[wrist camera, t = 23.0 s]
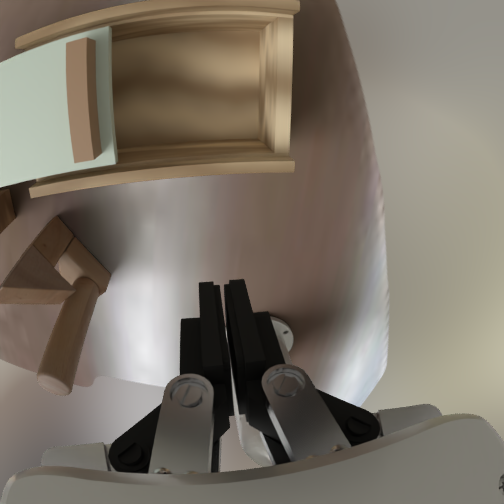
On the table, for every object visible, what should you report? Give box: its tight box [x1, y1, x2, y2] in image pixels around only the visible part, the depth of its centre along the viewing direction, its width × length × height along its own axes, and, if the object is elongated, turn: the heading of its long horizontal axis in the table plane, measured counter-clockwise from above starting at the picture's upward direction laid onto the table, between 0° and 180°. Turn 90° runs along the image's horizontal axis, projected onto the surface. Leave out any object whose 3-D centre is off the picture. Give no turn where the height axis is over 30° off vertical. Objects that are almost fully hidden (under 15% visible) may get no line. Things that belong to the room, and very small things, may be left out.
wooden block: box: [0, 216, 111, 396], centre depth 25 cm, size 4×11×18 cm, turn 30°
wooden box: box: [15, 0, 300, 198], centre depth 21 cm, size 14×22×10 cm, turn 89°
